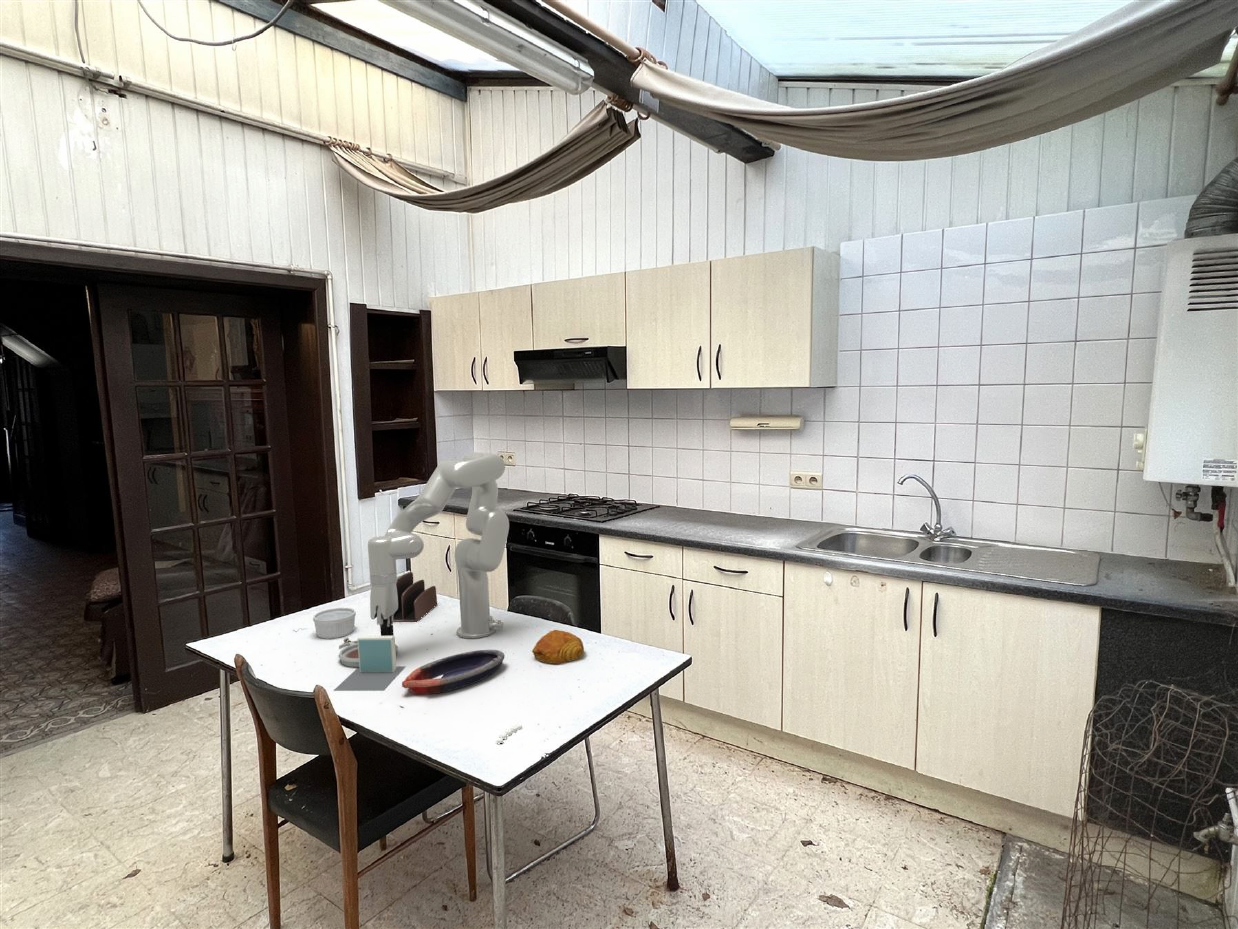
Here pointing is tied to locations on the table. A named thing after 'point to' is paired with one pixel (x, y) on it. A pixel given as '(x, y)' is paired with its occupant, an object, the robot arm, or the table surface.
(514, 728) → the white bumpy strip
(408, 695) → the table surface
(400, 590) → the letter holder
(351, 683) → the mat
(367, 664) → the tile
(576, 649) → the croissant
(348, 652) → the oval picture frame
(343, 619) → the ramekin
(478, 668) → the dish
